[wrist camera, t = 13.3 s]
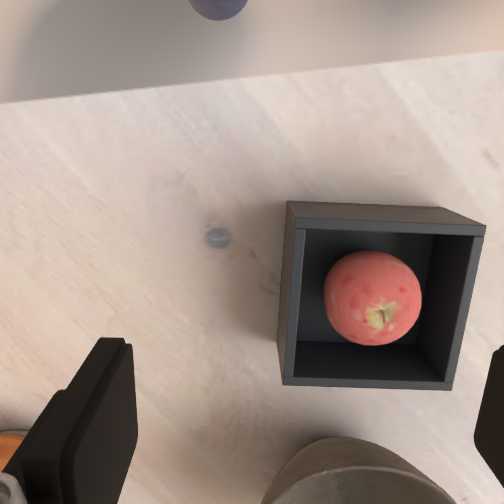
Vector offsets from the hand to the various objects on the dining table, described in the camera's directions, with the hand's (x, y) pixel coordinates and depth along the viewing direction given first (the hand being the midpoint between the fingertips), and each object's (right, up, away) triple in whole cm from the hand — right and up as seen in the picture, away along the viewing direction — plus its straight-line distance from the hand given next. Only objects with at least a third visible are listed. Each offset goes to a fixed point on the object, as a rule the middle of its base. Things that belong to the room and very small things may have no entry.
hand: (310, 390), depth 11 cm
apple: (+8, +1, +27) cm, 28 cm away
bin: (+8, +1, +27) cm, 28 cm away
